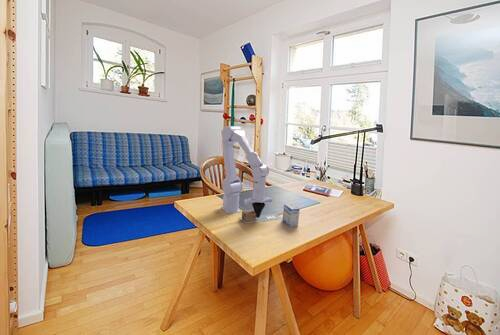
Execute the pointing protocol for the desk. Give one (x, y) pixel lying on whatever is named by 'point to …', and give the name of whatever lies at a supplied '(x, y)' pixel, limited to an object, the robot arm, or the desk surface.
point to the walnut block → (249, 216)
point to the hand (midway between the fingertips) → (257, 217)
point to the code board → (263, 218)
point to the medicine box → (290, 215)
